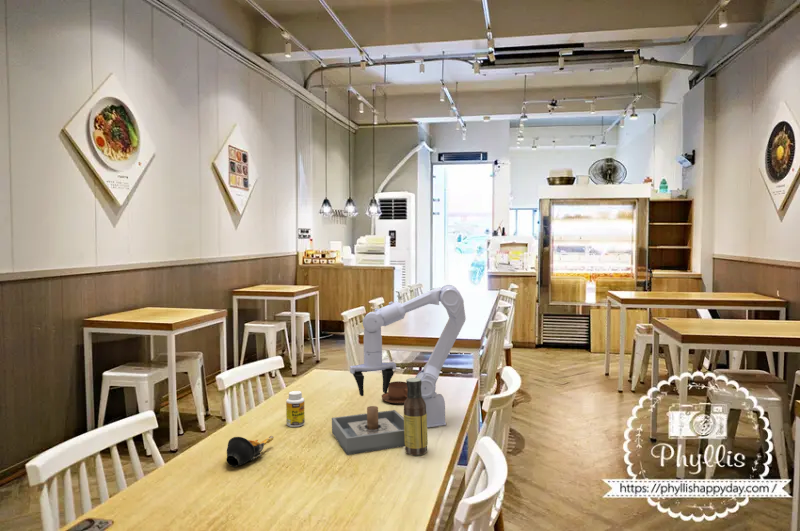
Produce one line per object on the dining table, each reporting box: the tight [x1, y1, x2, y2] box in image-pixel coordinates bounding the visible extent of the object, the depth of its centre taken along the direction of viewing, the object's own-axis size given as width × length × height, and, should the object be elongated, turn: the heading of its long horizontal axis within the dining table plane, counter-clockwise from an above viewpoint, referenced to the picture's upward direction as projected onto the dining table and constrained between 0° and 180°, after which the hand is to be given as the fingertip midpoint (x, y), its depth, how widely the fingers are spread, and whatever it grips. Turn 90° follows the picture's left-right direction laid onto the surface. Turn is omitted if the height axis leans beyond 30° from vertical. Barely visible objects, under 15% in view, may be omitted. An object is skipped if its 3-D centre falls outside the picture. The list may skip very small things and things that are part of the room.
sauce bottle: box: [403, 377, 429, 457], centre depth 144 cm, size 6×6×20 cm
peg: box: [366, 405, 379, 430], centre depth 154 cm, size 3×3×8 cm
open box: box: [331, 409, 405, 456], centre depth 154 cm, size 20×18×4 cm
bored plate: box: [347, 418, 398, 437], centre depth 154 cm, size 12×12×2 cm
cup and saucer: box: [381, 380, 408, 405], centre depth 191 cm, size 12×12×6 cm
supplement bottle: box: [285, 390, 306, 428], centre depth 166 cm, size 6×6×10 cm
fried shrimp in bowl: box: [225, 435, 274, 468], centre depth 141 cm, size 8×10×16 cm
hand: (373, 393), depth 167 cm, fingers open, 7 cm apart
